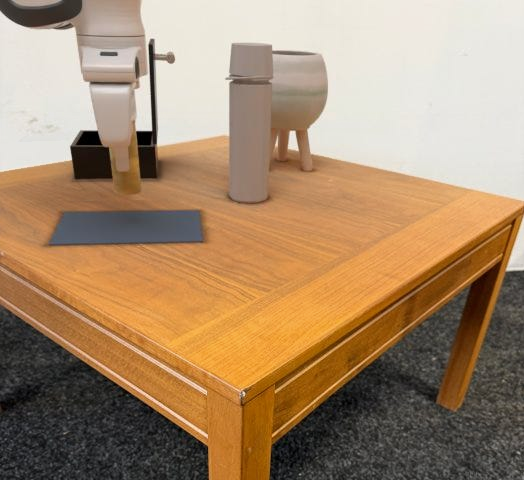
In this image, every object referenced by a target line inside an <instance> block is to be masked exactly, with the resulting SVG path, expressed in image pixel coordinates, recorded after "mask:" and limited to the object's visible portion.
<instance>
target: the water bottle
mask: <svg viewBox="0 0 524 480" xmlns="http://www.w3.org/2000/svg"><path fill="white" fill-rule="evenodd" d="M230 45H231V47H230V57H229V69H228V77H225V78H224V80H225V81H229V83H228V84H229V85H228V96H229V97H228V132H229V133H228V158H229V159H228V167H229V168H228V196H229V198H230V199H231V200H232V201H233V202H236V203H240V204H260V203H263V202H265V201H266V200H267V199H268V197H269V180H270V179H269V178H270V164H269V155H270V130H271V104H272V83H270V82H269V80H272V79H273V77H274V76H273V55H272V50H273V44H270V43H261V42H232V43H231V44H230Z"/></svg>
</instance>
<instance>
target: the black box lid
mask: <svg viewBox="0 0 524 480" xmlns="http://www.w3.org/2000/svg"><path fill="white" fill-rule="evenodd" d="M155 41H156V39H155V38H149V41H148V45H147V47H148V73H149V91H150V113H151V114H150V115H151V131H152V140H153V144H157V145H158V133H159V119H158V118H159V117H158V115H159V114H158V92H157V67H156V65H157V64H156V61H162V62H163V61H165V62H166V63H168V64H169V65H172V64H174V63H175V62H176V56H175V53H174V52H173V51H168V52H167V53H156V46H155V45H156V42H155Z"/></svg>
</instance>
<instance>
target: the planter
mask: <svg viewBox="0 0 524 480" xmlns="http://www.w3.org/2000/svg"><path fill="white" fill-rule="evenodd" d="M272 55H273V76H274V77H273V79H272V80H269V82H270V83H272V104H271V130H270V155H269V165H270V164H271V161H272V157H273V154H274V151H275V147H276V145H277V148H276V149H277V150H276V151H277V152H276V160H277V161H278V162H286V161H287V157H288V151H289V150H288V149H289V142H290V133H291V132H295V139H296V144H297V148H298V153H299V158H300V162H301V163H300V164H301V167H302V171H304V172H312V171H313V161H312V154H311V147H310V141H309V140H310V139H309V131H308V129H310V128H311V126H312V125H313V124H315V123H316V122H317V121H318V119H319V118H320V117H321V115H322V114H323V112H324V111H325V107H326V105H327V101H328V94H329V80H328V71H327V66H326V62H325V59H324V57H323V55H322V53H319V52H315V51H308V50H293V49H292V50H291V49H272ZM276 143H277V144H276Z"/></svg>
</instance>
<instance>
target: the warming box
mask: <svg viewBox="0 0 524 480" xmlns="http://www.w3.org/2000/svg"><path fill="white" fill-rule="evenodd" d="M136 136H137V147H138V158H139V170H140V180H151V179H152V180H154V179H156V180H157V179H158V173H159V172H158V171H159V152H158V143H157V144H153V140H152V130H136ZM69 150H70V157H71V163H72V170H73V176H74V180H113V176H112V167H111V159H110V150H109V147H104V146H103V145H102V143H101V140H100V137H99V134H98V129H97V130H95V129H94V130H93V129H91V130H89V129H88V130H87V129H84V130H83V129H80V130H79V131H78V133H77V134H76V136H75V138H74V139H73V141H72V143H70V145H69Z"/></svg>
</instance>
